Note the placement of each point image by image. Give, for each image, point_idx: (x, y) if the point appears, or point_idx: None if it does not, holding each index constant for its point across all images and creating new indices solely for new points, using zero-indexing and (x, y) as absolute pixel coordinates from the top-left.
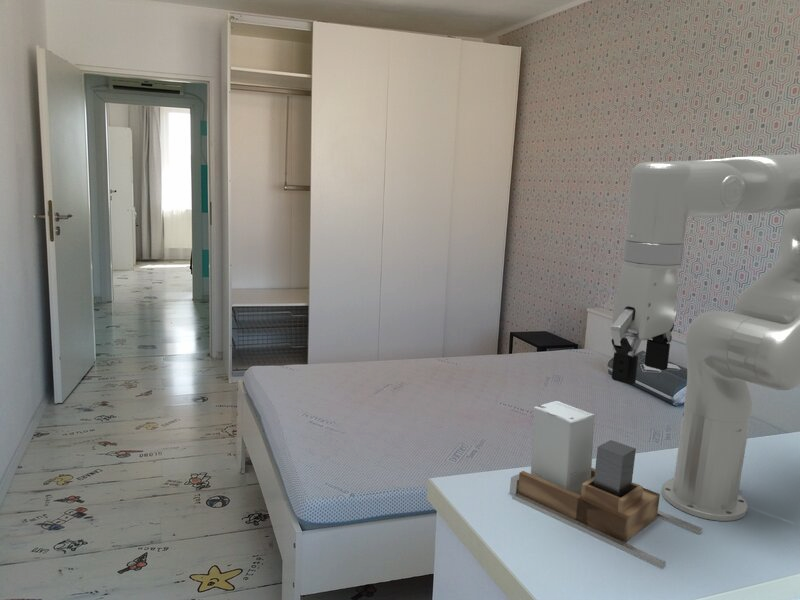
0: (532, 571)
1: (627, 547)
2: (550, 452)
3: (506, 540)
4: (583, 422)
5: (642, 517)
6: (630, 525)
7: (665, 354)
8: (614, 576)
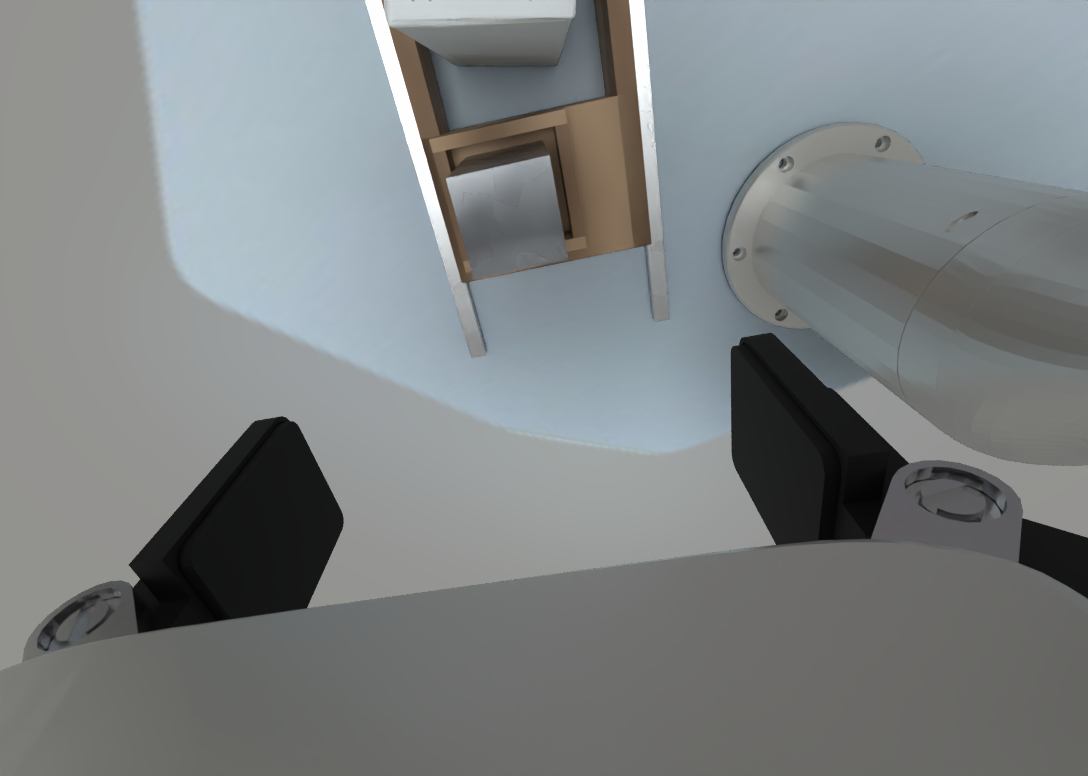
0: (210, 232)
1: (454, 288)
2: None
3: (205, 100)
4: (483, 29)
5: None
6: None
7: (775, 537)
8: (370, 323)
